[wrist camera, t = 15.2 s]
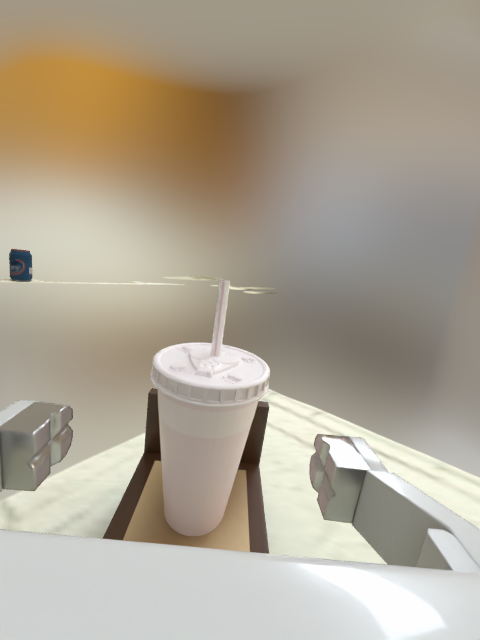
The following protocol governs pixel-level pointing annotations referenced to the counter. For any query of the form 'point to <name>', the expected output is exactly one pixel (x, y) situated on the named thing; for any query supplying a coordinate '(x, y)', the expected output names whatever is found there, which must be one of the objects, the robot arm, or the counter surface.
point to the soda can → (20, 265)
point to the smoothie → (204, 423)
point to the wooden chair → (148, 504)
